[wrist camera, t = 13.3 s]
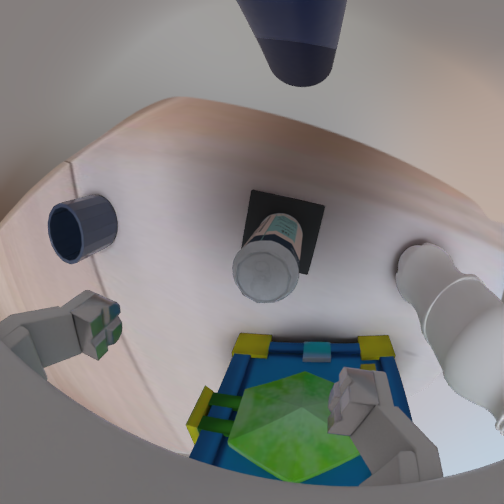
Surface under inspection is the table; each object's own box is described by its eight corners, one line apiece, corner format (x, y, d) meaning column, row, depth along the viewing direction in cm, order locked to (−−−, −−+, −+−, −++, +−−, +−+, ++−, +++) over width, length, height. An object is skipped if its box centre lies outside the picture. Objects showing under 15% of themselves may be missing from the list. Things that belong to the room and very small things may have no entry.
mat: (252, 189, 29) (251, 190, 29) (324, 205, 28) (324, 206, 28) (240, 257, 32) (239, 258, 31) (307, 273, 31) (307, 275, 30)
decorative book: (231, 318, 35) (115, 536, 7) (405, 320, 30) (472, 544, 2) (240, 391, 39) (175, 558, 12) (383, 394, 35) (397, 568, 7)
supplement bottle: (262, 256, 31) (234, 310, 20) (256, 214, 29) (222, 247, 18) (304, 253, 30) (300, 307, 19) (300, 210, 28) (294, 241, 17)
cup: (80, 191, 34) (46, 200, 28) (118, 198, 33) (83, 208, 26) (81, 241, 37) (50, 255, 30) (117, 253, 36) (85, 270, 29)
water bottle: (396, 233, 27) (537, 400, 4) (447, 240, 26) (588, 372, 3) (384, 291, 30) (455, 485, 6) (433, 294, 28) (525, 454, 5)
